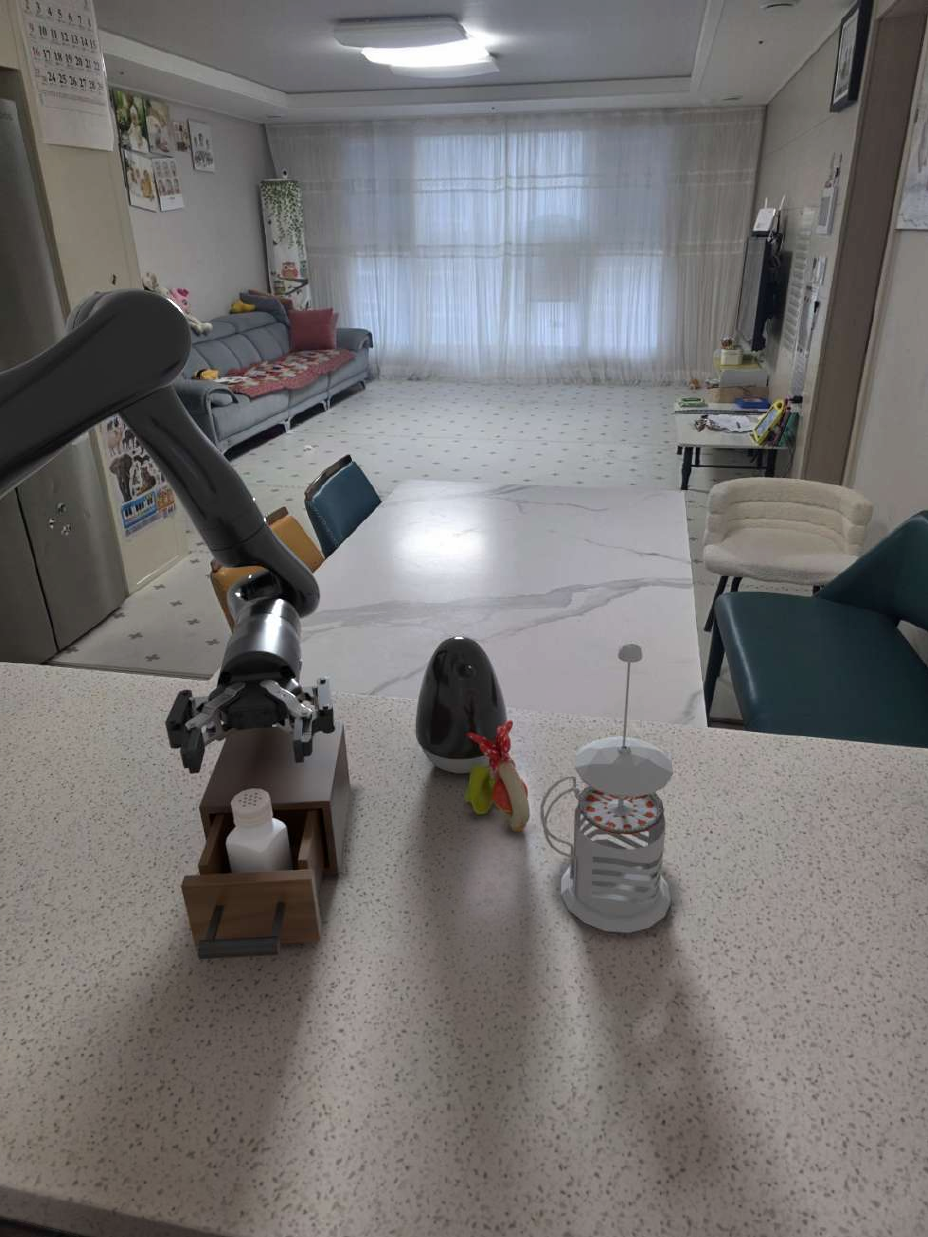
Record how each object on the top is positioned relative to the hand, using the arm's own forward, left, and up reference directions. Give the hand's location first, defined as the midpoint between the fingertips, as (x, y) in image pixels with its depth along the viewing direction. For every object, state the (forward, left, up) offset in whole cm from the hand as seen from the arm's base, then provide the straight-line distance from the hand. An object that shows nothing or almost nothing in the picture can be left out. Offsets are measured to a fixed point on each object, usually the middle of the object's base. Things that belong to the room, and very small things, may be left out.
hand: (245, 759), depth 67 cm
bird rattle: (+22, +10, -16) cm, 29 cm away
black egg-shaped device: (+18, +20, -16) cm, 31 cm away
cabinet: (0, +9, -15) cm, 18 cm away
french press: (+30, -1, -16) cm, 34 cm away
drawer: (0, -3, -15) cm, 15 cm away
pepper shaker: (0, 0, -14) cm, 14 cm away
